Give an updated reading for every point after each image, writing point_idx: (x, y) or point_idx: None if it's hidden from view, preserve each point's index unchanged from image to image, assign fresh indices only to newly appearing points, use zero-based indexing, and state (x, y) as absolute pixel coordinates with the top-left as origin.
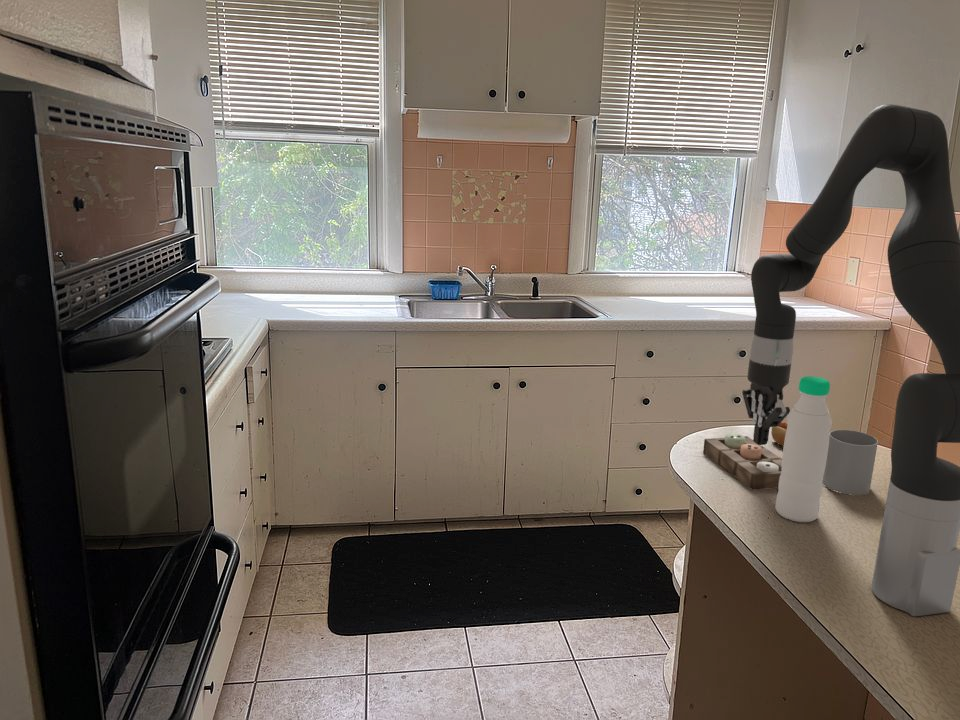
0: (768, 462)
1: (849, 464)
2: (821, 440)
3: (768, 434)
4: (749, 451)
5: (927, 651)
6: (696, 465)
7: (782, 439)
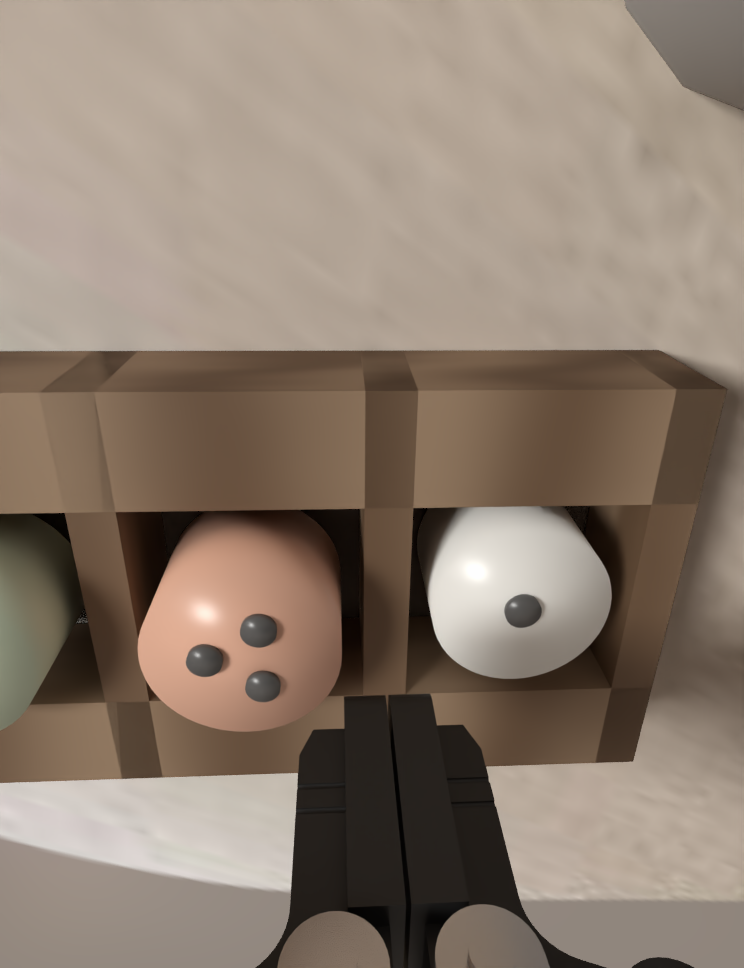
0: (464, 571)
1: None
2: None
3: (498, 824)
4: (316, 698)
5: None
6: (179, 806)
7: None
